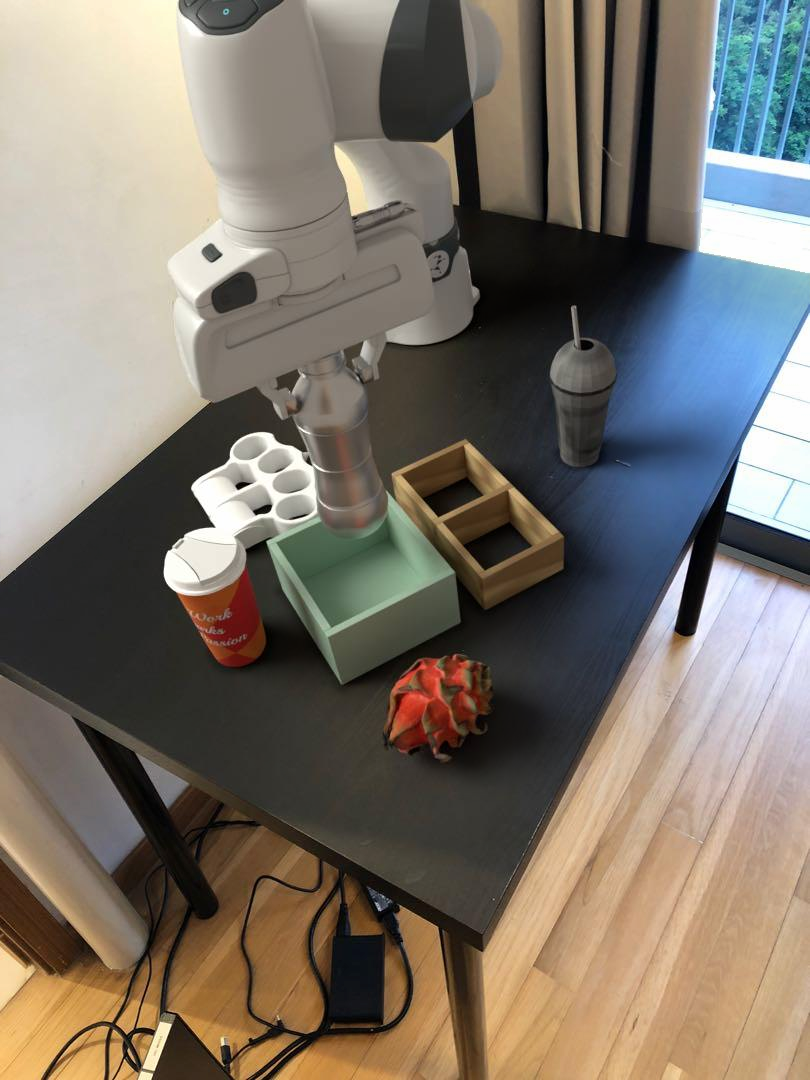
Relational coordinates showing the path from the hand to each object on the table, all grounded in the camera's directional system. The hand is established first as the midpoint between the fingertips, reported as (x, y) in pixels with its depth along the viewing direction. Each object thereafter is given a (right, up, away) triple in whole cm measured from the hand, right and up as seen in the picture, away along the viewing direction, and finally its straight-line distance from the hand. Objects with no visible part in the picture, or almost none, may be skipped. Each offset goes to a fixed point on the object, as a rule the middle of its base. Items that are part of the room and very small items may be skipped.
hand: (327, 396), depth 72 cm
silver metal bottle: (+2, -10, +11) cm, 15 cm away
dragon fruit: (+10, -29, +9) cm, 32 cm away
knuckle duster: (-10, -7, +33) cm, 35 cm away
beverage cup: (+27, -2, +32) cm, 42 cm away
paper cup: (-11, -23, +18) cm, 31 cm away
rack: (+14, -11, +25) cm, 31 cm away
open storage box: (+3, -19, +20) cm, 27 cm away
